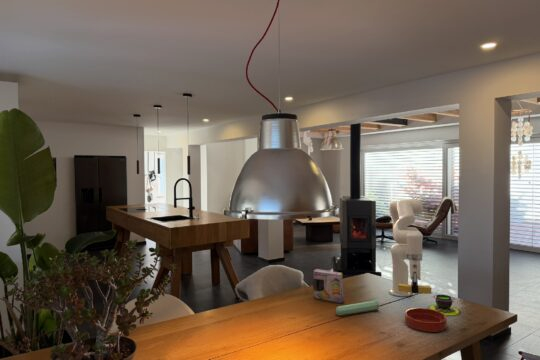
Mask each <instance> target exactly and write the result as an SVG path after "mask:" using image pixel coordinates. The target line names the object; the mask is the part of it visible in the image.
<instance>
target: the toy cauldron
mask: <svg viewBox="0 0 540 360" xmlns="http://www.w3.org/2000/svg"><path fill="white" fill-rule="evenodd" d="M449 294H450V295H447V294H441V293H440V294H439V293H438V291H436V294H435V295H433V296H432V298H434V299H435V301H434V302H435V305H430V306H429V307H428V309H432V310H435V311H438V312H441V313H443V314H444V315H445V316H456V315H458V314H460V311H459V310H458V309H457V308H455V307H452V305H453V303H455V300H456V298H455V297H453V296H452V293H450V292H449Z"/></svg>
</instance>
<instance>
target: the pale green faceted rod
mask: <svg viewBox="0 0 540 360" xmlns="http://www.w3.org/2000/svg"><path fill="white" fill-rule="evenodd" d="M379 310H380V304H379V302H378V300H377V299H373V300H370V301H363V302H356V303H351V304H345V305H339V306H336V308H335V313H336V315H337V316H339V317H342V316H348V315H354V314H359V313H360V314H361V313H367V312H371V311H375V312H378V311H379Z"/></svg>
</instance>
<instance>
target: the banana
mask: <svg viewBox="0 0 540 360" xmlns="http://www.w3.org/2000/svg"><path fill="white" fill-rule="evenodd" d="M398 291H402V292H409V293H411V294H413V293H412V285H411V284H409V283H408V284H401V283H400V284H399V285H398ZM416 294H417V295H418V294H420V295H421V294H422V295H423V294H424V295H425V294H426V295H432V287H431V286H430V285H418V293H416Z"/></svg>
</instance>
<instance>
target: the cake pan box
mask: <svg viewBox="0 0 540 360" xmlns="http://www.w3.org/2000/svg"><path fill="white" fill-rule="evenodd" d="M343 276H344V275H343V272H339V271H333V270H326V269H320V268H316V269H314V270H313V280H312V289H313V293H314V299H318V300H322V301H327V302H333V303H339V304H342V303H343V302H345V296H344V279H343Z"/></svg>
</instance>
